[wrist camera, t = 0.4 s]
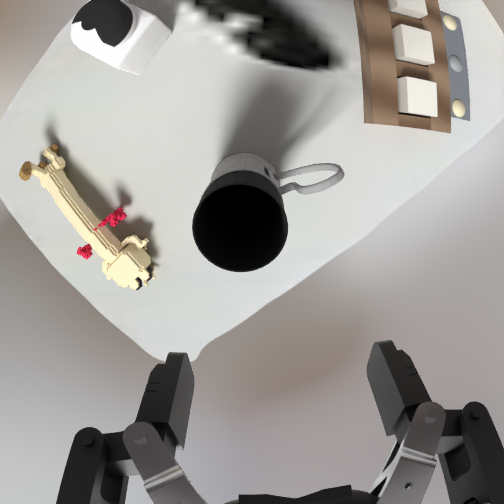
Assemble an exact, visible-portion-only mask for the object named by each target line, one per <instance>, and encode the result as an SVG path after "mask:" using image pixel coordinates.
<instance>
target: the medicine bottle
mask: <svg viewBox="0 0 504 504" xmlns="http://www.w3.org/2000/svg"><path fill="white" fill-rule="evenodd" d="M171 33H172V31H171V30H170V29H169V28H168V27H167V26H166V25H165V24H164V23H163V22H162V21H161V20H160V19H159V18H158V17H157V16H156V15H154V14H152V13H150V12H148V11H146V10H143V9H141V8H139V7H137V6H134V5H132V4H129V3H127V2H124V1H122V0H91V1H90V2H88V3H87V4H85V5H84V6H83V7H82V8H81V9H80V10H79V11H78V13H77V14H76V16H75V18H74V20H73V22H72V25H71V39H72V41H73V42H74V44H75V45H76V46H78V48H79V49H81V50H83V51H85V52H87V53H89V54H91V55H93V56H95V57H96V58H98V59H100V60H102V61H104V62H106V63H108V64H109V65H111V66H113V67H115V68H117V69H120V70H124V71H127V72H130V73H133V74H136V75H141V74H142V72H143V71H144V69H145V68H146V66H147V65H148V64H149V62H150V61H151V60H152V58H153V57H154V55H155V54H156V53H157V51H158V50H159V49H160V47H161V46H162V45H163V44H164V42H165V41H166V40H167V39H168V37H169V36H170V35H171Z"/></svg>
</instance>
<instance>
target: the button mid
mask: <svg viewBox="0 0 504 504" xmlns="http://www.w3.org/2000/svg"><path fill="white" fill-rule="evenodd" d="M392 34H393V41H394V50H395V60H398V61H403V62H408V63H412V64H417V65H421V66H424V65H429V64H434V63H435V61H434V52H433V44H432V37H431V32H429V31H425V30H422V29H418V28H415V27H411V26H407V25H403V24H400V25H398V26H396V27H394V28H392Z"/></svg>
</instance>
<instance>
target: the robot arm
mask: <svg viewBox="0 0 504 504" xmlns="http://www.w3.org/2000/svg"><path fill="white" fill-rule="evenodd" d="M367 377H368V380H369V383H370V386H371V389H372V392H373V395H374V398H375V401H376V403H377V406H378V410H379V413H380V416H381V419H382V422H383V425H384V428H385V431H386V435H387V436H390V435H394V434H395V435H396V438H397V440H396V441H395V443H394V445H393V448H392V450H391V452H390V454H389V456H388V458H387V460H386V463H385V465H384V466H383V468H382V470H381V472H380V474H379V476H378V478H377V479H376V480H375V482H374V483H373V485H372V486H371V488H370V490H369V492H364V491H360V490H352V489H351V485H346V486H340V487H335V488H328V489H323V490H321V491H318V492H315V493H312V494H309V495H306V496H303V497H300V498H287V497H280V496H274V495H268V494H262V495H239V499H238V500H234V501H230V502H227V503H225V504H421V502H422V500H423V497H424V495H425V493H426V490H427V488H428V485H429V483H430V480H431V478H432V475H433V472H434V470H435V467H436V460H435V459H434V456H435V454H438V456H439V460H440V463H441V467H442V471H443V474H444V478H445V482H446V486H447V490H448V494H449V499H450V503H451V504H504V448H503V446H502V443H501V440H500V438H499V436H498V433H497V431H496V429H495V426H494V424H493V421H492V419H491V417H490V415H489V412H488V410H487V409H486V407H485V406H484V405H483V404H481V403H479V402H470V403H468V404H467V405H466V406H465V407H464V408H463V410H446V409H444V408H443V407H442V406H441V405H440V404H438V403H436V402H432V400H431V399H430V397H429V395H428V392H427V390H426V388H425V386H424V384H423V382H422V380H421V378H420V376H419V375H418V372H417V370H416V368H415V367H414V364H413V362H412V360H411V358H410V356H408V355H407V354H406V353H405V352H404V351H403V350H397V349H396V347H395V346H394V343H393V342H392V341H391V340H387V341H380V342H375V343H374V345H373V347H372V351H371V355H370V358H369V361H368V365H367ZM193 391H194V375H193V372H192V368H191V365H190V361H189V358H188V354H187V353H177V352H169V354H168V356H167V359H166V363H165V364H157V365H156V366H155V368H154V369H153V370H152V371H151V373H150V376H149V379H148V384H147V385H146V388H145V392H144V395H143V398H142V401H141V404H140V408H139V411H138V414H137V418H136V420H135V422H134V423H133V424H131V425H129V426H128V427H127V428H126V429H125V430H124V431H122V432H116V433H107V434H102V433H101V432H100V431H99V430H98V429H96V428H93V427H87V428H84V429H81V430H80V431H79V432H78V433H77V434H76V435H75V437H74V440H73V443H72V446H71V450H70V453H69V456H68V460H67V463H66V467H65V470H64V474H63V478H62V482H61V485H60V490H59V494H58V498H57V502H56V504H125V498H126V492H127V485H128V479H129V476H132V475H141V477H142V479H143V481H144V483H145V484H144V486H145V489H146V491H147V493H148V494H149V496H150V498H151V499H152V501H153V502H154V504H207V502H206V501H205V500H204V498H203V497H202V496H201V495H200V494H199V492H198V491H197V489H196V488H195V487H194V486H193V484H192V483H191V481H190V480H189V479H188V477H187V476H186V475H185V473H184V472H183V470H182V469H181V467H180V466H179V464H178V463H177V461H176V460H175V458H174V457H175V451H176V449H179V450H184V444H185V438H186V432H187V426H188V420H189V414H190V408H191V402H192V397H193Z"/></svg>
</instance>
